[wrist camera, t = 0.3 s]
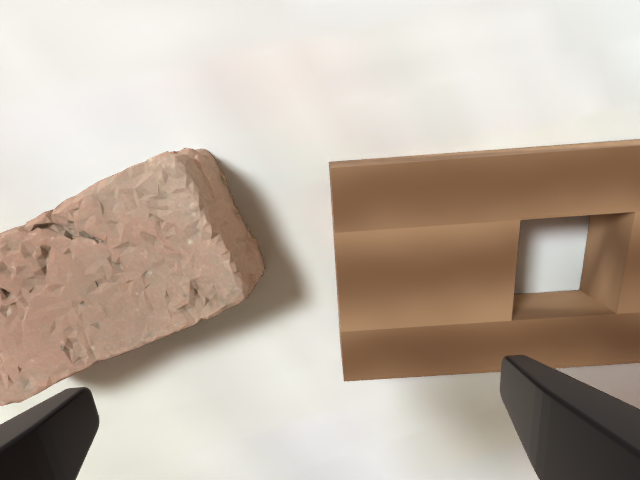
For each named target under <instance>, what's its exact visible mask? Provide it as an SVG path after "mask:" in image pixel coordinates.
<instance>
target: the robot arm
mask: <svg viewBox="0 0 640 480" xmlns="http://www.w3.org/2000/svg"><path fill="white" fill-rule="evenodd" d="M500 393H501V397H502V400H503V403H504V405H505V407H506V409H507V411H508V414H509V416H510V418H511V420H512V422H513V425H514V427H515V429H516V431H517V434H518V436H519V438H520V440H521V442H522V445H523V447H524V449H525V451H526V453H527V456H528V458H529V460H530V462H531V464H532V466H533V468H534V470H535V472H536V474H537V476H538V478H539V479H540V480H640V409H638V408H636V407H634V406H632V405H629V404H627V403H625V402H623V401H621V400H619V399H617V398H615V397H612V396H610V395H608V394H606V393H604V392H602V391H600V390H598V389H596V388H593V387H591V386H589V385H587V384H585V383H583V382H581V381H579V380H576V379H574V378H572V377H570V376H568V375H566V374H564V373H562V372H559V371H557V370H555V369H553V368H551V367H549V366H547V365H545V364H543V363H540V362H538V361H536V360H534V359H532V358H530V357H528V356H525V355H509V356H505V357H504V358H503V359H502V364H501V380H500ZM98 427H99V415H98V412H97V409H96V405H95V402H94V399H93V396H92V393H91V391H90V390H89V389H88V388H86V387H80V388H69V389H66V390H64V391H62V392H60V393H58V394H56V395H55V396H53V397H51V398H49V399H47V400H45V401H43V402H42V403H40V404H38V405H36V406H34V407H32V408H30V409H29V410H27V411H25V412H23V413H21V414H19V415H17V416H16V417H14V418H12V419H10V420H8V421H6V422H4V423H3V424H1V425H0V480H76V478H77V475H78V473H79V471H80V469H81V466H82V464H83V462H84V460H85V457H86V455H87V453H88V451H89V448H90V446H91V444H92V442H93V439H94V437H95V435H96V433H97V430H98Z"/></svg>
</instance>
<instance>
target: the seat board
mask: <svg viewBox="0 0 640 480" xmlns="http://www.w3.org/2000/svg"><path fill="white" fill-rule="evenodd" d="M329 170H330V186H331V202H332V217H333V233H334V249H335V264H336V280H337V296H338V311H339V327H340V343H341V356H342V366H343V376H344V381H358V380H374V379H390V378H406V377H422V376H438V375H453V374H469V373H485V372H501V364H502V359H503V358H504V357H505V356H509V355H525V356H528V357H530V358H532V359H534V360H536V361H538V362H540V363H543V364H545V365H547V366H549V367H551V368H565V367H581V366H596V365H612V364H628V363H640V139H635V140H621V141H608V142H594V143H581V144H567V145H553V146H540V147H526V148H513V149H499V150H485V151H472V152H458V153H445V154H431V155H417V156H404V157H390V158H377V159H363V160H349V161H336V162H329ZM584 215H590V221H589V228H588V235H587V242H586V249H585V255H584V262H583V269H582V276H581V283H580V290H573V291H558V292H543V293H527V294H514V288H515V277H516V266H517V255H518V243H519V232H520V221H521V220H527V219H541V218H555V217H570V216H584Z"/></svg>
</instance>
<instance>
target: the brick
mask: <svg viewBox="0 0 640 480" xmlns="http://www.w3.org/2000/svg"><path fill="white" fill-rule="evenodd" d="M258 248H259V245H258V243H257V240H256V239H255V238H254V237H253V236H252V234H251V232H250V231H248V229H247V226H246V224H244V222H243V219H242V217H241V215H240V213H239V210H238V208H236V207H235V204H234V203H233V196H232V194H231V193H230V191H229V189H228V184H227V181H226V178H225V176H224V173H223V172H222V171H221V169H220V168H219V166H218V164H217V162H216V160H215V158H214V157H213V156H212V155H211V154H210V153H209V152H208V151H207V150H206V149H197V150H193V149H190V148H184V149H182V150H181V151H178V152H175V151H173V152H168V151H167V152H164V153H162V154H159V155H157V156H155V157H152V158H150V159H148V160H147V161H145V162H143V163H139V164H137V165H134V166H132V167H129V168H127V169H125V170H124V171H122V172H120V173H117V174H115V175H112V176H110V177H108V178H105V179H103V180H101V181H99V182H97V183H95V184H93V185H92V186H90V187H88V188H87V189H85V190H84V191H82V192H81V193H79V194H78V195H76V196H74V197H71V198H69V199H67V200H65V201H63V202H62V203H61V204H60V205H58V206H57V207H56V208H55V209H54V210H50V211H47V212H44V213H42V214H41V215H39V216H38V217H36V218H35V219H33V220H31V221H28V222H27V223H26V224H25V225H24V226H20V227H15V228H12V229H10V230H7V231H5V232H2V233H0V406H4V405H7V404H10V403H19V402H22V401H24V400H26V399H28V398H29V397H31V396H34V395H36V394H38V393H40V392H42V391H43V390H45V389H47V388H48V387H50V386H51V385H53V384H55V383H57V382H59V381H61V380H63V379H65V378H68V377H70V376H72V375H73V374H75V373H76V372H79V371H81V370H83V369H85V368H87V367H89V366H90V365H92V364H94V363H96V362H98V361H100V360H106V359H109V358H112V357H115V356H118V355H121V354H123V353H126V352H129V351H131V350H134V349H136V348H139V347H141V346H143V345H145V344H148V343H150V342H152V341H155V340H158V339H160V338H163V337H166V336H169V335H171V334H174V333H176V332H178V331H180V330H183V329H185V328H188V327H190V326H193V325H195V324H196V323H198V322H200V321H202V320H203V319H210V318H212V317H214V316H216V315H218V314H220V313H221V312H223V311H224V310H226V309H227V308H230V307H233V306H236V305H238V304H239V303H240V302H242V301H243V300H244V299H246V298H248V295H249V293H250V292H252V291H253V289H254V287H255V285H256V283H257V282H258V280H259V279H260V277H261V276H262V275H263V273H264V269H265V267H264V262H263V259H262V255H261V253H260V251H259V250H258Z"/></svg>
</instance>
